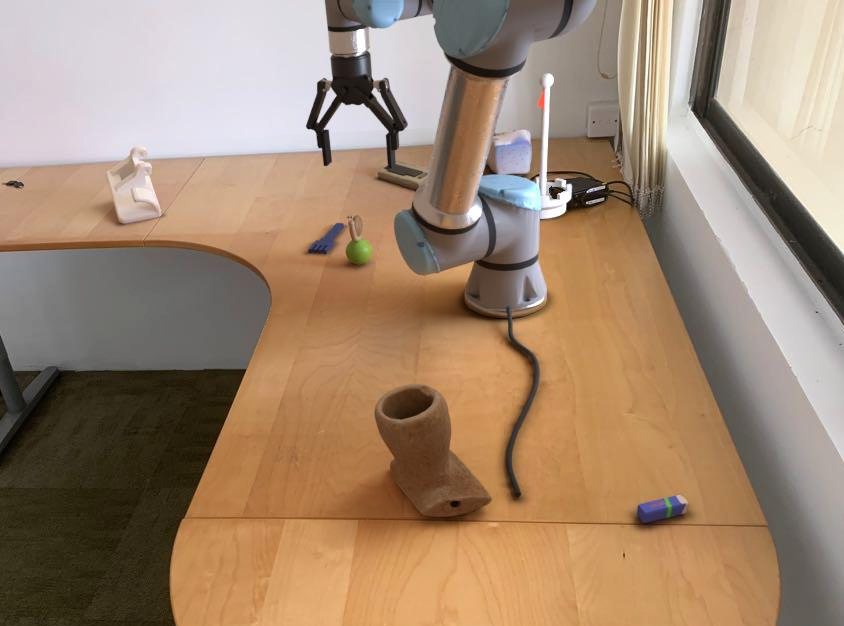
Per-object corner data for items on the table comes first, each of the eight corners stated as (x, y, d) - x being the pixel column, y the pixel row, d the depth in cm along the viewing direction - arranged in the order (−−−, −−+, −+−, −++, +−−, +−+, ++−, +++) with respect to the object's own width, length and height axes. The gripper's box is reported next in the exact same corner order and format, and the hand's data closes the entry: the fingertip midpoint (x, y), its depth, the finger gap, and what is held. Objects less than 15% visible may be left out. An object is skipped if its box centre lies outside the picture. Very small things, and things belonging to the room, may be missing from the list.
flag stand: (524, 196, 201) (528, 64, 184) (578, 202, 195) (587, 66, 178) (503, 216, 192) (505, 79, 175) (559, 223, 186) (566, 82, 169)
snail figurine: (342, 270, 176) (336, 215, 169) (351, 257, 181) (346, 204, 174) (367, 271, 175) (362, 216, 168) (375, 258, 180) (371, 204, 173)
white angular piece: (167, 230, 217) (161, 194, 206) (123, 239, 215) (114, 203, 203) (150, 175, 226) (143, 138, 215) (107, 184, 224) (98, 146, 212)
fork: (326, 254, 184) (325, 250, 183) (308, 252, 185) (308, 249, 185) (348, 226, 195) (348, 223, 195) (331, 226, 197) (331, 222, 196)
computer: (377, 179, 220) (376, 166, 218) (400, 170, 224) (399, 158, 222) (419, 191, 210) (418, 178, 208) (442, 182, 214) (441, 169, 212)
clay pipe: (369, 471, 120) (360, 383, 112) (445, 448, 123) (441, 361, 114) (411, 538, 108) (404, 445, 100) (494, 511, 111) (494, 418, 102)
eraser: (687, 514, 107) (689, 502, 106) (643, 525, 106) (645, 513, 105) (678, 504, 108) (680, 493, 107) (635, 515, 108) (637, 503, 107)
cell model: (492, 139, 204) (472, 119, 221) (492, 182, 210) (473, 159, 227) (544, 131, 205) (521, 112, 222) (543, 175, 211) (520, 153, 227)
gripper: (420, 46, 155) (424, 160, 167) (296, 48, 163) (309, 156, 175) (408, 56, 149) (414, 173, 161) (280, 58, 157) (295, 169, 169)
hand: (359, 165), depth 168 cm, fingers open, 13 cm apart
